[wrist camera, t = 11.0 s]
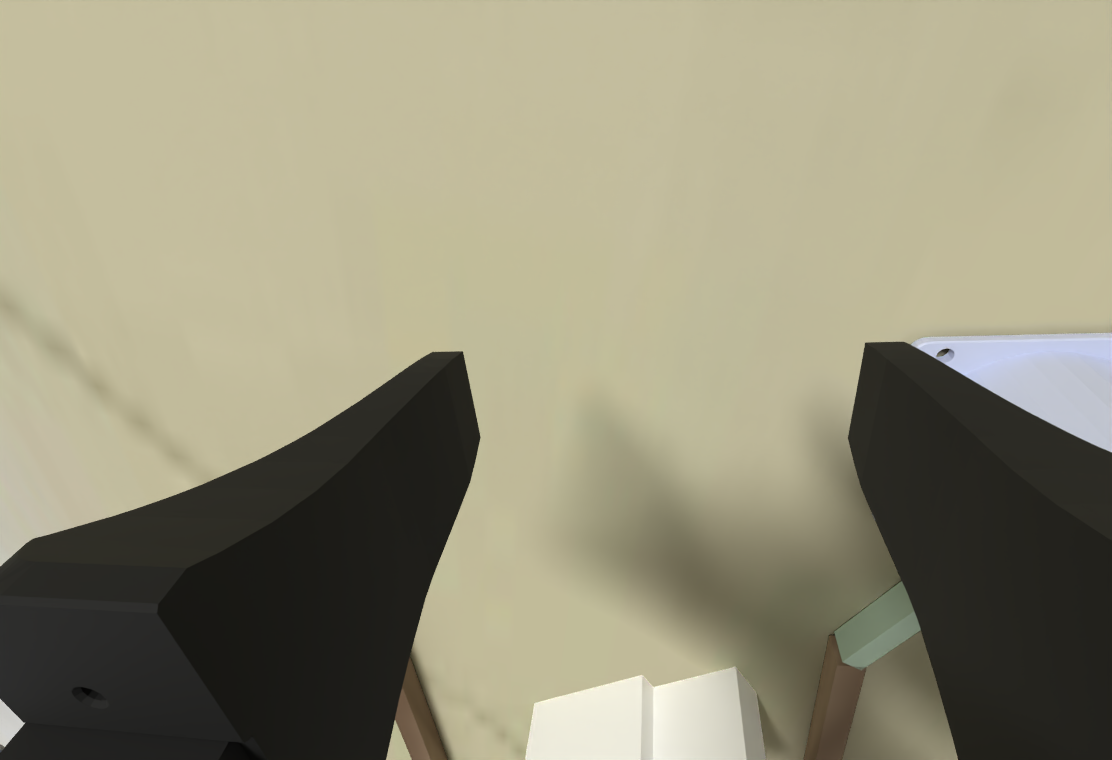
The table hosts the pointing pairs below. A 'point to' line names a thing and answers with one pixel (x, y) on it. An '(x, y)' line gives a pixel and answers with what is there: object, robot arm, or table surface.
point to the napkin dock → (835, 697)
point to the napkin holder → (651, 721)
